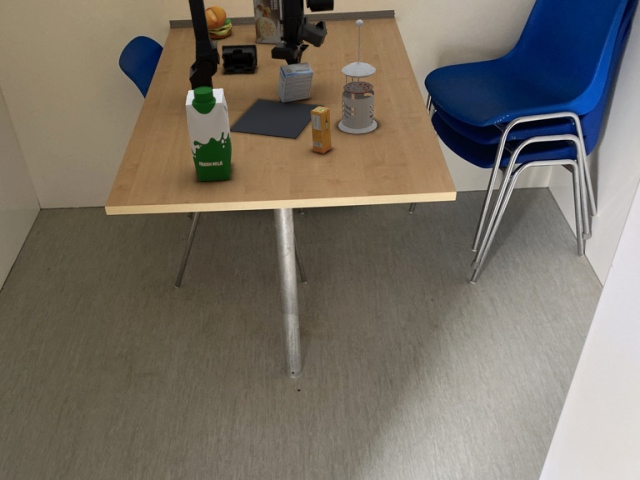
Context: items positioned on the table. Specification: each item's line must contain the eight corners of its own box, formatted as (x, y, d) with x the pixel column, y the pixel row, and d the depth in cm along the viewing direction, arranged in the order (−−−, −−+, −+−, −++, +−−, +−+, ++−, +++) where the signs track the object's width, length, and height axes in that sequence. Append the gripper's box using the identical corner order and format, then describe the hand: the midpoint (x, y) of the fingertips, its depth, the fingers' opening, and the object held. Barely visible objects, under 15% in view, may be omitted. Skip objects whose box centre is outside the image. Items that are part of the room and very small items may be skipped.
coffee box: (288, 37, 222) (285, -16, 211) (282, 44, 217) (279, -10, 207) (261, 36, 224) (258, -17, 214) (255, 43, 220) (251, -11, 209)
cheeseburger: (240, 31, 229) (233, 2, 221) (223, 48, 224) (215, 20, 216) (216, 27, 233) (208, -2, 225) (198, 44, 228) (190, 15, 220)
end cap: (258, 64, 205) (256, 41, 201) (256, 73, 200) (254, 49, 195) (225, 65, 206) (223, 42, 201) (222, 74, 201) (219, 50, 196)
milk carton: (194, 183, 152) (180, 96, 138) (197, 164, 158) (184, 79, 145) (233, 181, 151) (223, 93, 138) (234, 162, 158) (225, 76, 145)
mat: (295, 138, 166) (295, 137, 166) (229, 130, 171) (228, 130, 171) (321, 106, 180) (321, 105, 180) (258, 99, 185) (258, 99, 185)
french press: (345, 136, 166) (346, 29, 149) (330, 117, 174) (329, 14, 158) (383, 129, 167) (387, 23, 151) (366, 111, 176) (369, 8, 159)
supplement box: (320, 145, 163) (319, 105, 156) (331, 149, 161) (331, 108, 154) (311, 150, 161) (310, 110, 154) (323, 154, 159) (322, 113, 152)
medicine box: (303, 88, 186) (307, 61, 179) (309, 99, 184) (313, 71, 176) (276, 92, 184) (279, 65, 176) (282, 103, 182) (285, 76, 174)
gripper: (311, 27, 164) (313, 91, 174) (334, 4, 176) (334, 64, 187) (268, 24, 167) (272, 87, 177) (293, 2, 180) (296, 61, 190)
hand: (295, 75), depth 183 cm, fingers closed
